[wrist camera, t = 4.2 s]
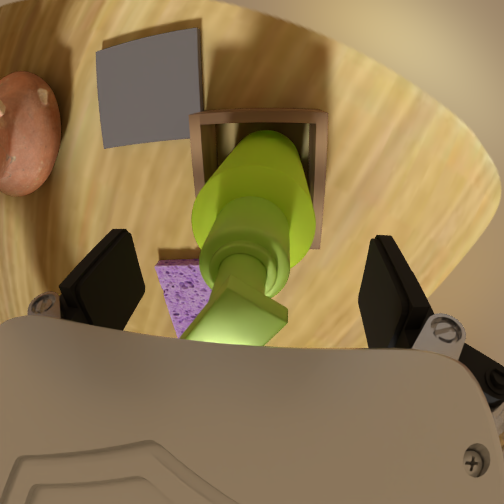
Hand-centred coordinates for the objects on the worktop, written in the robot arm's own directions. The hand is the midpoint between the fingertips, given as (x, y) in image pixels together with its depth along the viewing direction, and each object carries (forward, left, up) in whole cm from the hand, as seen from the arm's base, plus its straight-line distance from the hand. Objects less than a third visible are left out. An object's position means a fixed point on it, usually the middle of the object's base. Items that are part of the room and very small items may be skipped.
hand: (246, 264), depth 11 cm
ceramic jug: (+7, +27, -16) cm, 33 cm away
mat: (+8, +10, -16) cm, 21 cm away
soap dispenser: (0, 0, -16) cm, 16 cm away
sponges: (-16, +8, -17) cm, 25 cm away
